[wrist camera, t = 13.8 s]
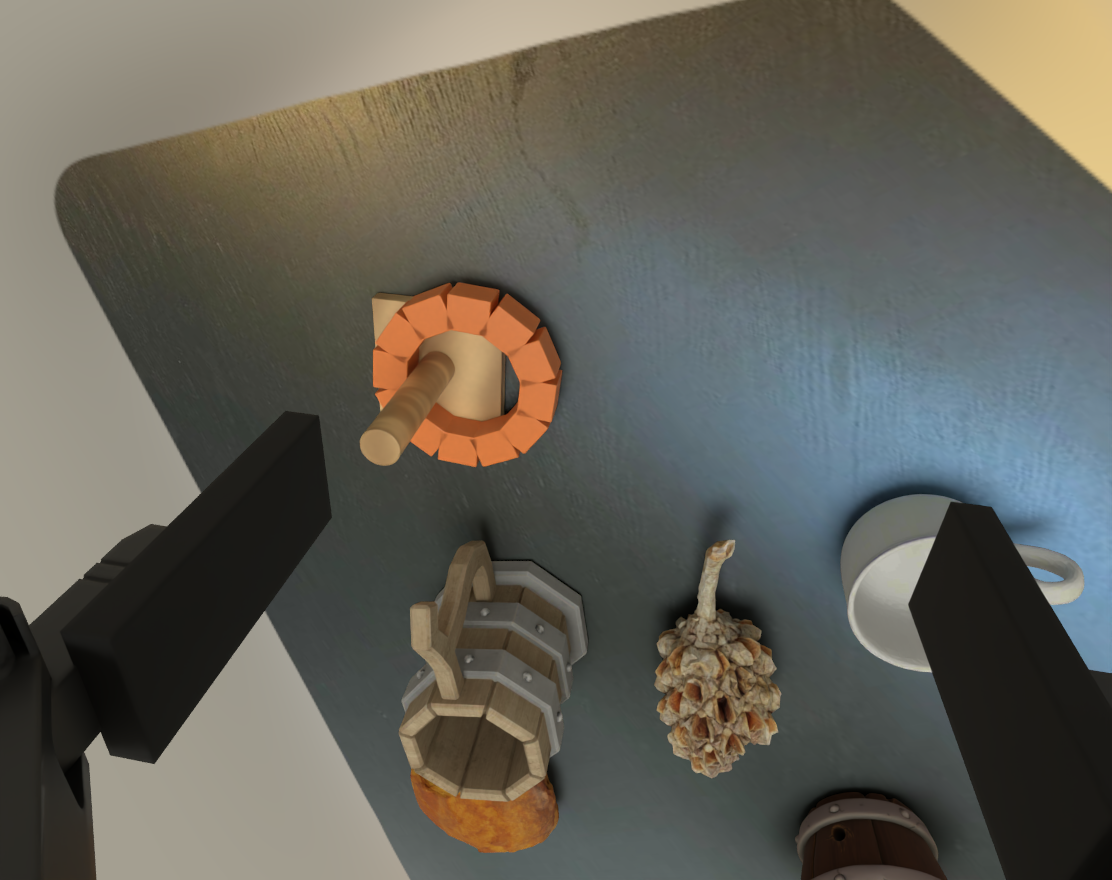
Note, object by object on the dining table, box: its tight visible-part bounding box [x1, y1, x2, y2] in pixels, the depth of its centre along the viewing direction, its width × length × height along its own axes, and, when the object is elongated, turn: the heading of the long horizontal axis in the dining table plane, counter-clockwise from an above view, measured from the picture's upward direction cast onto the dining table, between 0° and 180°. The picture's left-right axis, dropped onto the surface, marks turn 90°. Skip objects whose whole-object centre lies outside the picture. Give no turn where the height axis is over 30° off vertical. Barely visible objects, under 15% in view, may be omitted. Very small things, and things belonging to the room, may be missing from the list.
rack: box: [360, 293, 506, 465], centre depth 46 cm, size 9×9×12 cm
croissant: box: [411, 768, 559, 853], centre depth 72 cm, size 14×16×8 cm
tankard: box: [398, 541, 588, 802], centre depth 55 cm, size 20×13×15 cm, turn 8°
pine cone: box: [654, 540, 781, 778], centre depth 55 cm, size 22×10×10 cm, turn 11°
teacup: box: [840, 494, 1084, 672], centre depth 49 cm, size 14×11×8 cm
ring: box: [373, 282, 562, 467], centre depth 49 cm, size 12×12×2 cm
